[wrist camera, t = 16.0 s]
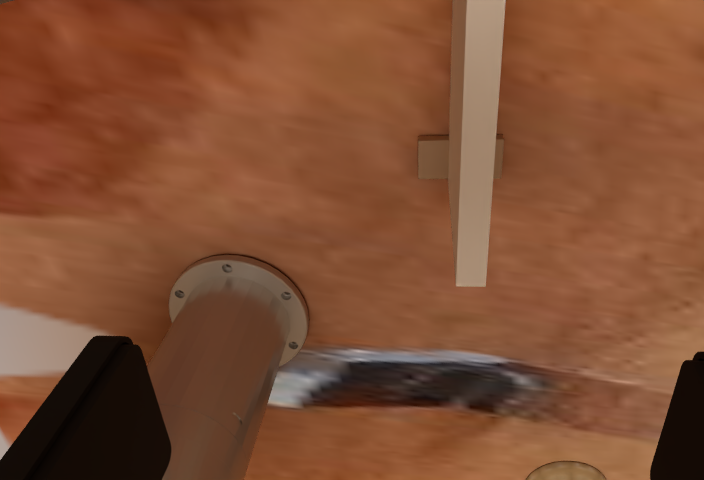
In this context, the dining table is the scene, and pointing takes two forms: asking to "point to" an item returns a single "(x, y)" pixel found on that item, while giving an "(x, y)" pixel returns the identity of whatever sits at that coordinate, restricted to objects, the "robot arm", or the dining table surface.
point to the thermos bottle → (4, 1)
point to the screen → (470, 134)
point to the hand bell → (566, 472)
